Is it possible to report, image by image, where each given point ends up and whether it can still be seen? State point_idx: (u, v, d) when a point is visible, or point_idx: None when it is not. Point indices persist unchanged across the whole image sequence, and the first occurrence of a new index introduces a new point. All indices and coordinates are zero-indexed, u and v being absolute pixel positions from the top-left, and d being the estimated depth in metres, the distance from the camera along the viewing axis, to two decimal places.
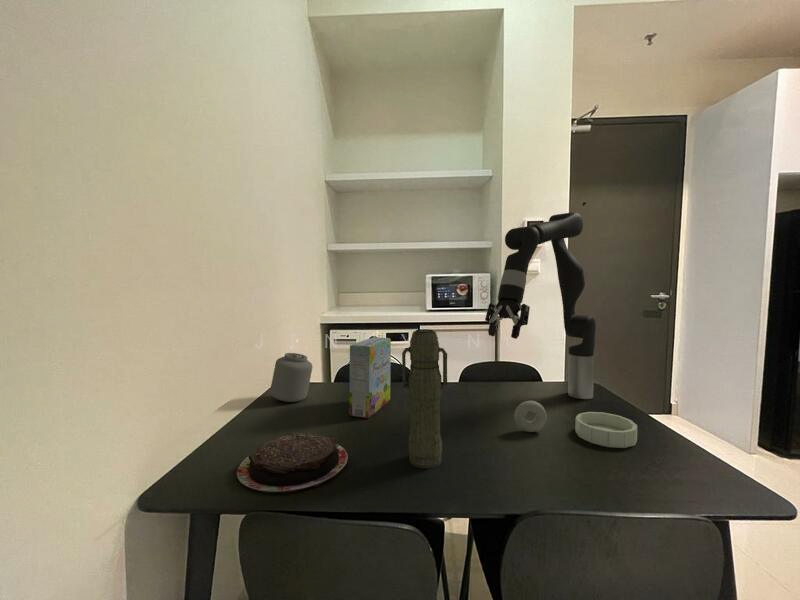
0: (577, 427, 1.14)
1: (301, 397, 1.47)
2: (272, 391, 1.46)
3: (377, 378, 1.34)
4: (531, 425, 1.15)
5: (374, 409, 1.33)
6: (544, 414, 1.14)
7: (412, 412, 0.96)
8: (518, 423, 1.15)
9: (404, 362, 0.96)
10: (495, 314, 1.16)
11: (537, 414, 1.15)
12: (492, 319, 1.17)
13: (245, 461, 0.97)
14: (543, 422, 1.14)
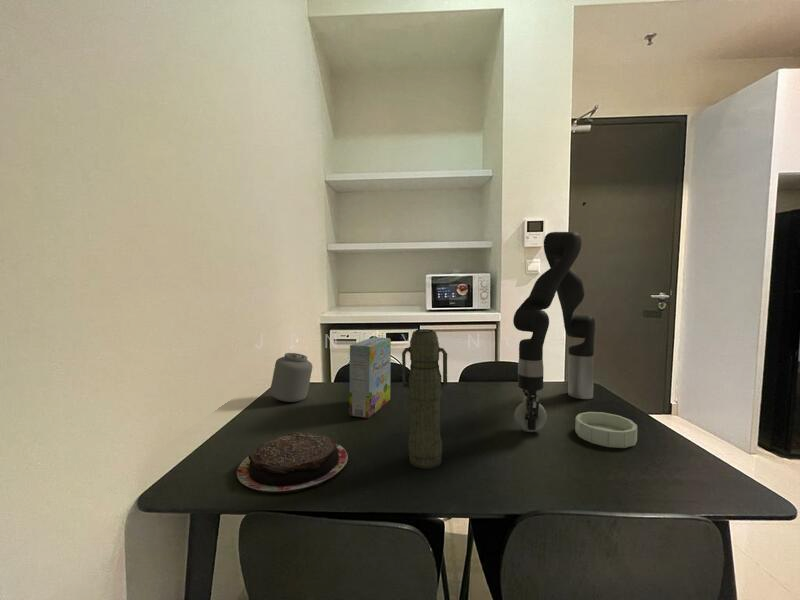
0: (577, 427, 1.14)
1: (301, 397, 1.47)
2: (272, 391, 1.46)
3: (377, 378, 1.34)
4: None
5: (374, 409, 1.33)
6: (544, 414, 1.14)
7: (412, 412, 0.96)
8: (518, 423, 1.15)
9: (404, 362, 0.96)
10: None
11: None
12: None
13: (245, 461, 0.97)
14: (543, 422, 1.14)
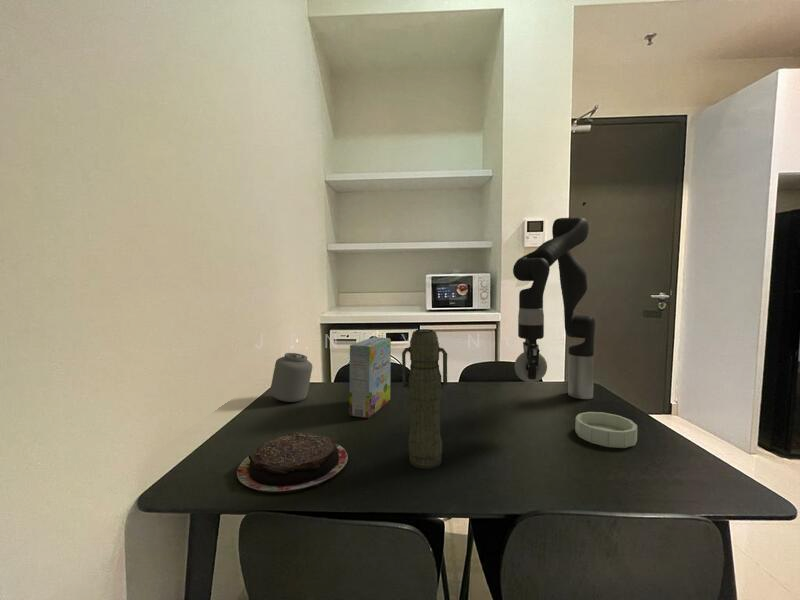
0: (577, 427, 1.14)
1: (301, 397, 1.47)
2: (272, 391, 1.46)
3: (377, 378, 1.34)
4: None
5: (374, 409, 1.33)
6: (544, 364, 1.13)
7: (412, 412, 0.96)
8: (518, 373, 1.14)
9: (404, 362, 0.96)
10: None
11: None
12: None
13: (245, 461, 0.97)
14: (543, 372, 1.14)
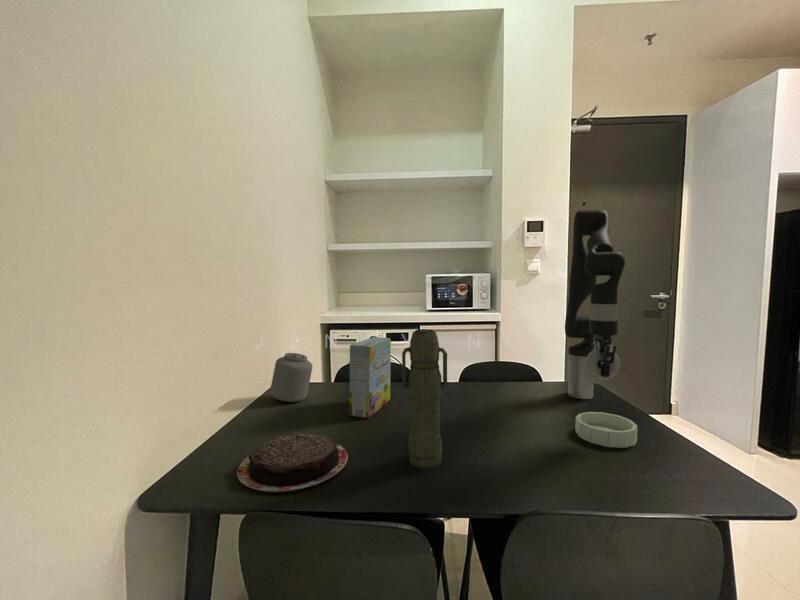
0: (577, 427, 1.14)
1: (301, 397, 1.47)
2: (272, 391, 1.46)
3: (377, 378, 1.34)
4: None
5: (374, 409, 1.33)
6: (618, 361, 1.10)
7: (412, 412, 0.96)
8: (590, 371, 1.11)
9: (404, 362, 0.96)
10: None
11: None
12: None
13: (245, 461, 0.97)
14: (617, 369, 1.10)
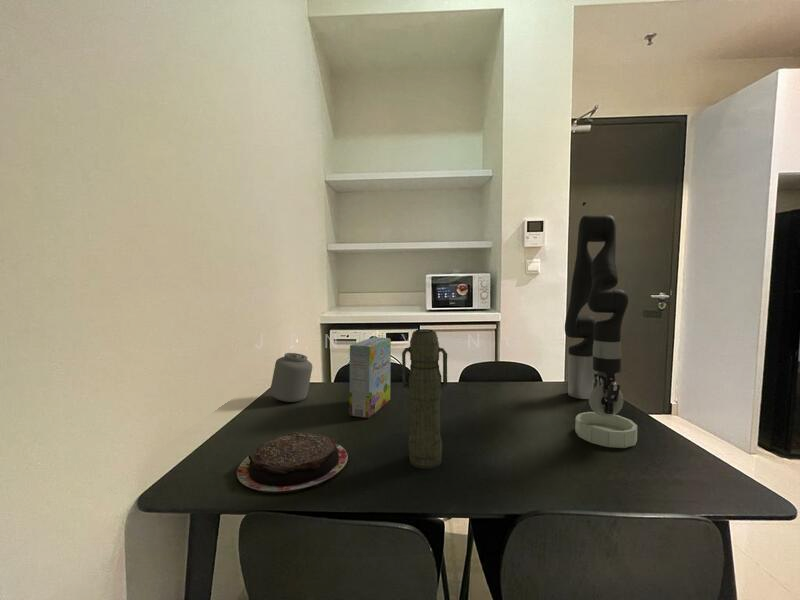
0: (577, 427, 1.14)
1: (301, 397, 1.47)
2: (272, 391, 1.46)
3: (377, 378, 1.34)
4: None
5: (374, 409, 1.33)
6: (621, 398, 1.10)
7: (412, 412, 0.96)
8: (593, 408, 1.11)
9: (404, 362, 0.96)
10: None
11: None
12: None
13: (245, 461, 0.97)
14: (620, 406, 1.10)
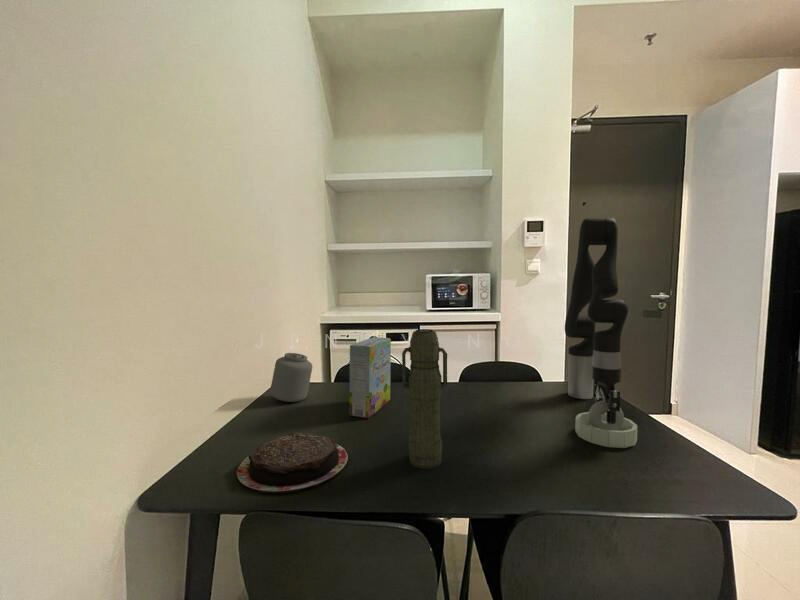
0: (577, 427, 1.14)
1: (301, 397, 1.47)
2: (272, 391, 1.46)
3: (377, 378, 1.34)
4: (606, 426, 1.11)
5: (374, 410, 1.33)
6: (621, 415, 1.10)
7: (412, 412, 0.96)
8: (592, 423, 1.12)
9: (404, 362, 0.96)
10: (596, 393, 1.15)
11: None
12: (596, 397, 1.16)
13: (245, 461, 0.97)
14: (620, 423, 1.10)
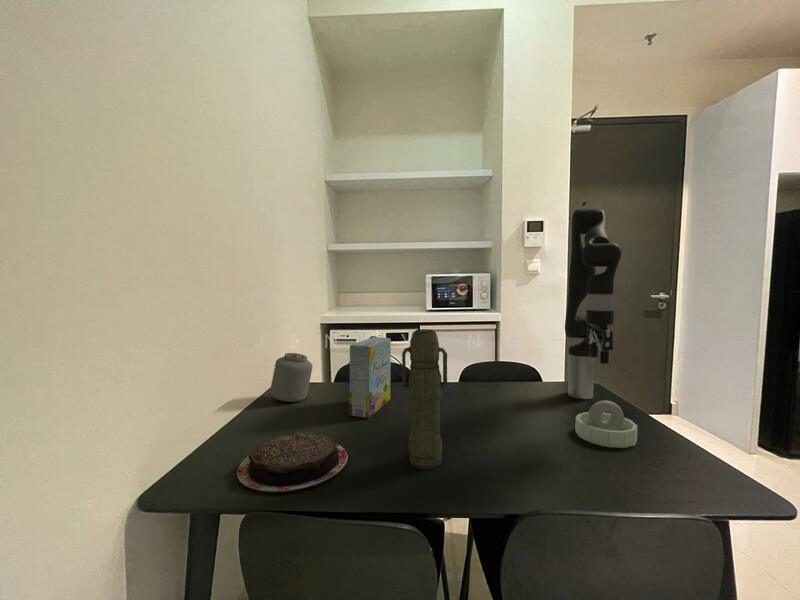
0: (577, 427, 1.14)
1: (301, 397, 1.47)
2: (272, 391, 1.46)
3: (377, 378, 1.34)
4: (606, 426, 1.11)
5: (374, 410, 1.33)
6: (621, 415, 1.10)
7: (412, 412, 0.96)
8: (592, 423, 1.12)
9: (404, 362, 0.96)
10: (589, 337, 1.17)
11: (613, 414, 1.11)
12: (590, 341, 1.19)
13: (245, 461, 0.97)
14: (620, 423, 1.10)
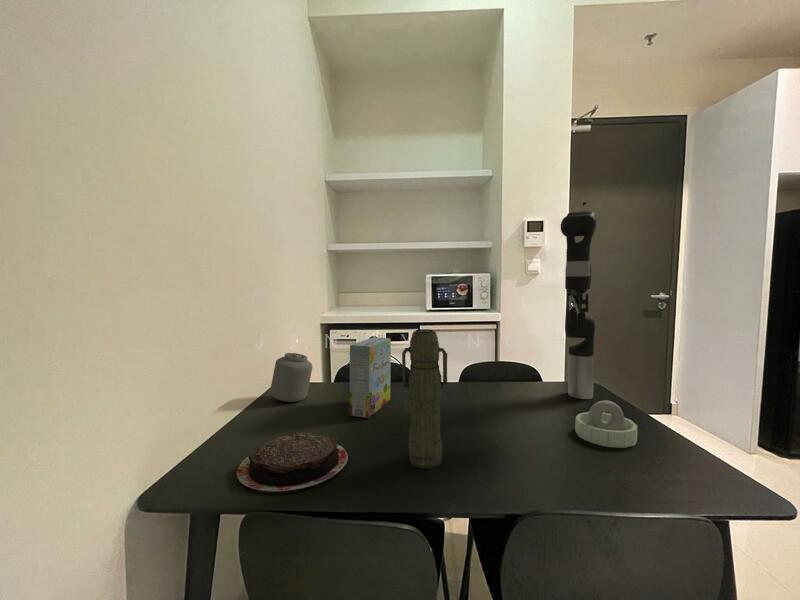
0: (577, 427, 1.14)
1: (301, 397, 1.47)
2: (272, 391, 1.46)
3: (377, 378, 1.34)
4: (606, 426, 1.11)
5: (374, 409, 1.33)
6: (621, 415, 1.10)
7: (412, 412, 0.96)
8: (592, 423, 1.12)
9: (404, 362, 0.96)
10: (569, 303, 1.26)
11: (613, 414, 1.11)
12: (569, 307, 1.28)
13: (245, 461, 0.97)
14: (620, 423, 1.10)
